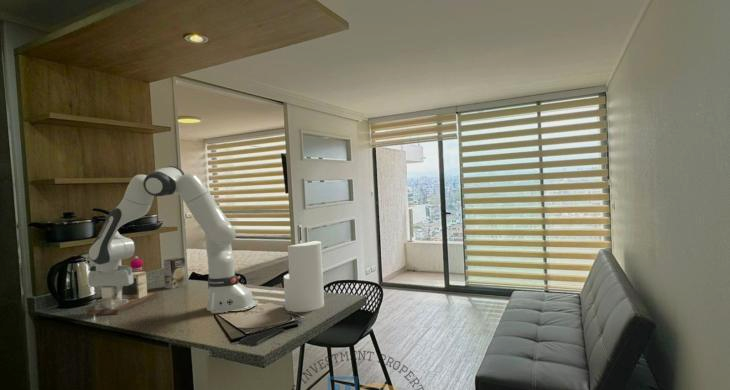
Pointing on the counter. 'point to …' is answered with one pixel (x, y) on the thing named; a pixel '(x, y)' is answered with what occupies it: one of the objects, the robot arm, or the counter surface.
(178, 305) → the counter surface
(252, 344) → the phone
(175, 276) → the coffee box
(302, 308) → the cylinder
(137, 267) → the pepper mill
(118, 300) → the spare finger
